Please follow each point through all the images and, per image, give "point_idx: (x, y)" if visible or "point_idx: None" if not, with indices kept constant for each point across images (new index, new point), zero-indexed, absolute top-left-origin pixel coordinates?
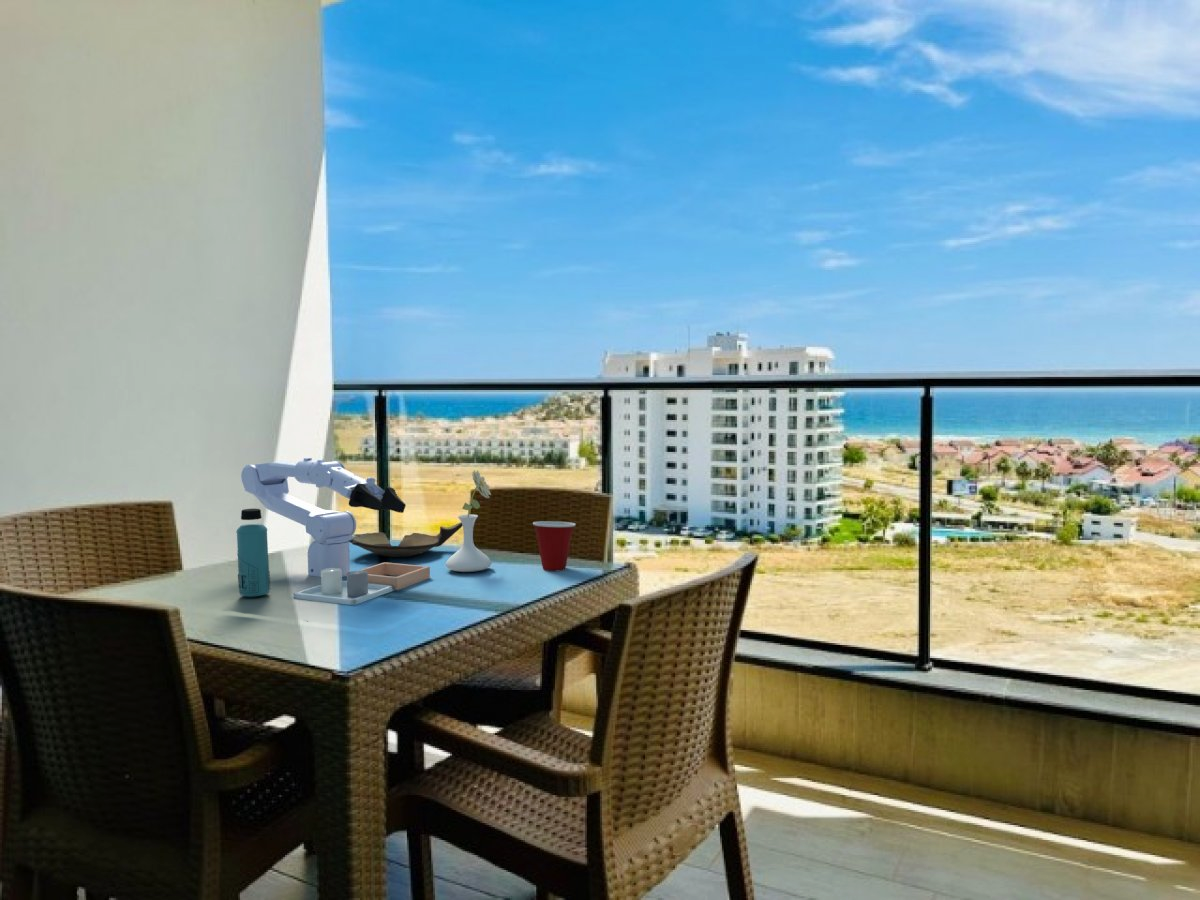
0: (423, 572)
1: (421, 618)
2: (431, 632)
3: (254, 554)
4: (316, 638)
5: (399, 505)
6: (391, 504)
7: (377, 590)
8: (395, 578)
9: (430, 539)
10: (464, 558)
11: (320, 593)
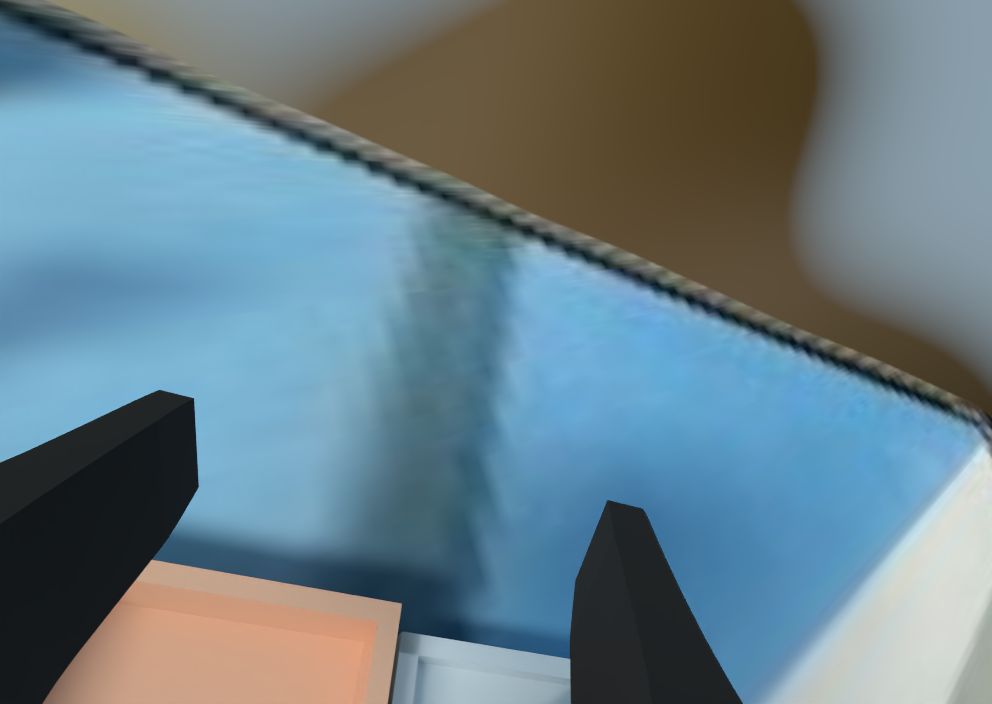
0: None
1: (654, 403)
2: (731, 349)
3: None
4: (941, 609)
5: (156, 475)
6: (17, 652)
7: (517, 668)
8: (399, 616)
9: None
10: None
11: None
